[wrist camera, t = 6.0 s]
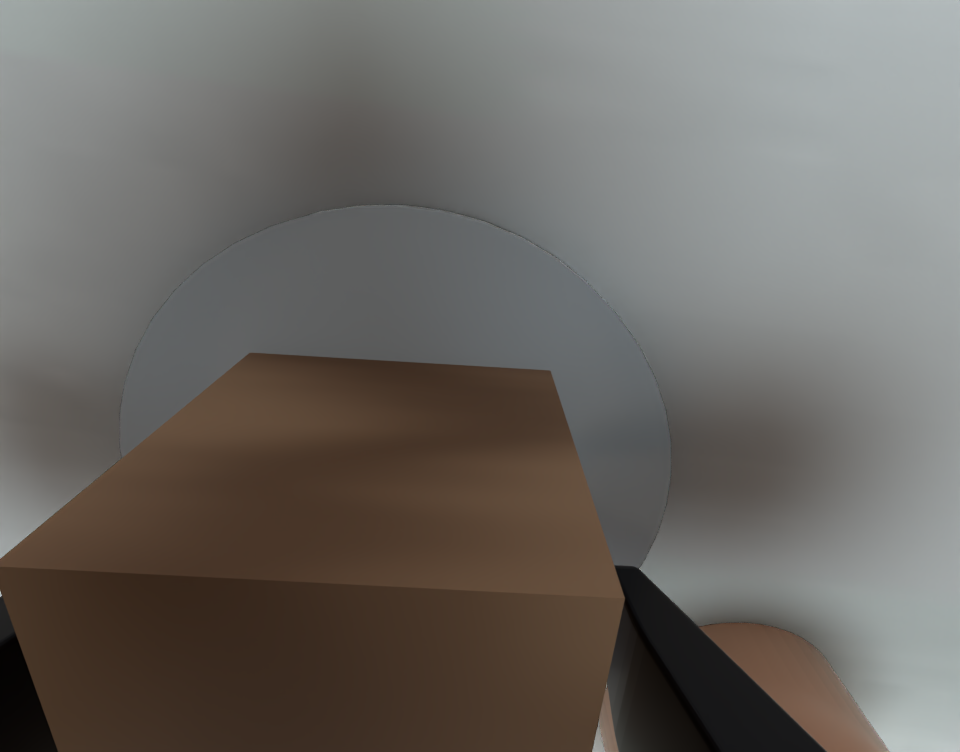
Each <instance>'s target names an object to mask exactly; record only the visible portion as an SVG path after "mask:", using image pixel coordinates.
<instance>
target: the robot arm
mask: <svg viewBox="0 0 960 752" xmlns="http://www.w3.org/2000/svg"><path fill="white" fill-rule="evenodd" d="M614 567H615V570H616V573H617V576H618V579H619V582H620V585H621V588H622V591H623V594H624V597H625V600H624V605H623V610H622V614H621V619H620V624H619V628H618V633H617V637H616V642H615V647H614V651H613V656H612V661H611V665H610V670H609V675H608V679H607V686H608V693H609V700H610V707H611V714H612V720H613V727H614V733H615V738H616V742H617V747H618V751H619V752H827V751H826V750H825V749H824V748H823V747H822V746H821V745H820V744H819V743H818V742H817V741H816V740H815V739H814V738H813V737H812V736H811V735H810V734H809V733H808V732H807V731H805V730H804V729H803V728H802V727H801V726H800V725H799V724H798V723H797V722H796V721H795V720H794V719H793V718H792V717H791V716H790V715H789V714H788V713H787V712H786V711H785V710H784V709H783V708H782V707H781V706H780V705H779V704H778V703H777V702H776V701H775V700H774V699H772V698H771V697H770V696H769V695H768V694H767V693H766V692H765V691H764V690H763V689H762V688H761V687H760V686H759V685H758V684H757V683H756V682H755V681H754V680H753V679H752V678H751V677H750V676H749V675H748V674H747V673H746V672H745V671H744V670H743V669H742V668H741V667H740V666H738V665H737V664H736V663H735V662H734V661H733V660H732V659H731V658H730V657H729V656H728V655H727V654H726V653H725V652H724V651H723V650H722V649H721V648H720V647H719V646H718V645H717V644H716V643H715V642H714V641H713V640H712V639H711V638H710V637H709V636H708V635H707V634H705V633H704V632H703V631H702V630H701V629H700V628H699V627H698V626H697V625H696V624H695V623H694V622H693V621H692V620H691V619H690V618H689V617H688V616H687V615H686V614H685V613H684V612H683V611H682V610H681V609H680V608H679V607H678V606H677V605H676V604H675V603H674V602H672V601H671V600H670V599H669V598H668V597H667V596H666V595H665V594H664V593H663V592H662V591H661V590H660V589H659V588H658V587H657V586H656V585H655V584H654V583H653V582H652V581H651V580H650V579H649V578H648V577H647V576H646V575H645V574H644V573H643V572H642V571H641V570H639V569H638V568H636V567H634V566H623V565H614ZM0 752H58V750H57V747H56V744H55V741H54V739H53V736H52V733H51V730H50V728H49V725H48V722H47V719H46V716H45V714H44V711H43V708H42V705H41V702H40V700H39V697H38V694H37V691H36V689H35V686H34V683H33V680H32V677H31V675H30V672H29V669H28V666H27V663H26V661H25V658H24V655H23V652H22V650H21V647H20V644H19V641H18V638H17V636H16V633H15V630H14V627H13V624H12V622H11V619H10V616H9V613H8V611H7V608H6V605H5V602H4V599H3V597H2V596H1V597H0Z"/></svg>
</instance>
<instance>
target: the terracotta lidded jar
mask: <svg viewBox="0 0 960 752" xmlns="http://www.w3.org/2000/svg"><path fill="white" fill-rule="evenodd" d="M699 628H700V629H701V630H702V631H703V632H704V633H705V634H707V635H708V636H709V637H710V638H711V639H712V640H713V641H714V642H715V643H716V644H717V645H718V646H719V647H720V648H721V649H722V650H723V651H724V652H725V653H726V654H727V655H728V656H729V657H730V658H731V659H732V660H733V661H734V662H735V663H736V664H737V665H738V666H740V667H741V668H742V669H743V670H744V671H745V672H746V673H747V674H748V675H749V676H750V677H751V678H752V679H753V680H754V681H755V682H756V683H757V684H758V685H759V686H760V687H761V688H762V689H763V690H764V691H765V692H766V693H767V694H768V695H769V696H770V697H771V698H772V699H774V700H775V701H776V702H777V703H778V704H779V705H780V706H781V707H782V708H783V709H784V710H785V711H786V712H787V713H788V714H789V715H790V716H791V717H792V718H793V719H794V720H795V721H796V722H797V723H798V724H799V725H800V726H801V727H802V728H803V729H804V730H805V731H807V732H808V733H809V734H810V735H811V736H812V737H813V738H814V739H815V740H816V741H817V742H818V743H819V744H820V745H821V746H822V747H823V748H824V749H825V750H826V751H827V752H890V751H889V750H888V748H887V747H886V745H885V744H884V742H883V741H882V739H881V738H880V737H879V735H878V734H877V732H876V731H875V729H874V728H873V726H872V725H871V724H870V722H869V721H868V719H867V718H866V716H865V715H864V713H863V712H862V710H861V709H860V708H859V706H858V705H857V703H856V702H855V700H854V699H853V697H852V696H851V695H850V693H849V692H848V690H847V689H846V687H845V686H844V684H843V683H842V682H841V680H840V679H839V677H838V676H837V674H836V673H835V671H834V670H833V668H832V667H831V666H830V664H829V663H828V661H827V660H826V659H825V657H824V656H823V655H822V653H821V652H820V651H818V650H817V649H816V648H815V647H814V646H813V645H812V644H810V643H809V642H807V641H806V640H804V639H803V638H801V637H799V636H797V635H795V634H793V633H791V632H788V631H785V630H782V629H779V628H776V627H771V626H767V625H762V624H753V623H720V624H710V625H705V626H700V627H699ZM599 725H600V730H601V735H602V740H603V745H604V750H605V752H619V751H618V747H617V742H616V738H615V733H614V727H613V720H612V714H611V707H610V700H609V693H608V686H607V688H606V690H605V693H604V698H603V702H602V707H601V712H600V716H599Z"/></svg>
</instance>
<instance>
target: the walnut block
mask: <svg viewBox="0 0 960 752" xmlns="http://www.w3.org/2000/svg"><path fill="white" fill-rule="evenodd" d="M0 591H1V594H2V597H3V599H4V602H5V605H6V608H7V611H8V613H9V616H10V619H11V622H12V624H13V627H14V630H15V633H16V636H17V638H18V641H19V644H20V647H21V650H22V652H23V655H24V658H25V661H26V663H27V666H28V669H29V672H30V675H31V677H32V680H33V683H34V686H35V689H36V691H37V694H38V697H39V700H40V702H41V705H42V708H43V711H44V714H45V716H46V719H47V722H48V725H49V728H50V730H51V733H52V736H53V739H54V741H55V744H56V747H57V750H58V752H592V749H593V744H594V740H595V735H596V730H597V726H598V721H599V716H600V712H601V707H602V702H603V698H604V693H605V689H606V684H607V679H608V675H609V670H610V665H611V661H612V656H613V651H614V647H615V642H616V637H617V633H618V628H619V624H620V619H621V614H622V610H623V605H624V600H625V597H624V594H623V591H622V588H621V585H620V582H619V579H618V576H617V573H616V570H615V567H614V564H613V560H612V557H611V554H610V551H609V548H608V545H607V542H606V539H605V536H604V533H603V530H602V527H601V524H600V521H599V518H598V515H597V511H596V508H595V505H594V502H593V499H592V496H591V493H590V490H589V487H588V484H587V481H586V478H585V475H584V472H583V469H582V466H581V463H580V459H579V456H578V453H577V450H576V447H575V444H574V441H573V438H572V435H571V432H570V429H569V426H568V423H567V420H566V417H565V414H564V411H563V407H562V404H561V401H560V398H559V395H558V392H557V389H556V386H555V383H554V380H553V377H552V374H551V371H550V370H535V369H518V368H501V367H484V366H468V365H451V364H434V363H417V362H401V361H384V360H367V359H350V358H333V357H317V356H300V355H283V354H266V353H249V354H247V355H246V356H245V357H244V358H243V359H241V360H240V361H239V362H238V363H237V364H235V365H234V366H233V367H232V368H231V369H229V370H228V371H227V372H226V373H225V374H223V375H222V376H221V377H220V378H218V379H217V380H216V381H215V382H214V383H212V384H211V385H210V386H209V387H208V388H206V389H205V390H204V391H203V392H202V393H200V394H199V395H198V396H197V397H195V398H194V399H193V400H192V401H191V402H189V403H188V404H187V405H186V406H185V407H183V408H182V409H181V410H180V411H179V412H177V413H176V414H175V415H174V416H173V417H171V418H170V419H169V420H168V421H166V422H165V423H164V424H163V425H162V426H160V427H159V428H158V429H157V430H156V431H154V432H153V433H152V434H151V435H150V436H148V437H147V438H146V439H145V440H143V441H142V442H141V443H140V444H139V445H137V446H136V447H135V448H134V449H133V450H131V451H130V452H129V453H128V454H127V455H125V456H124V457H123V458H122V459H121V460H119V461H118V462H117V463H116V464H114V465H113V466H112V467H111V468H110V469H108V470H107V471H106V472H105V473H104V474H102V475H101V476H100V477H99V478H98V479H96V480H95V481H94V482H93V483H91V484H90V485H89V486H88V487H87V488H85V489H84V490H83V491H82V492H81V493H79V494H78V495H77V496H76V497H75V498H73V499H72V500H71V501H70V502H69V503H67V504H66V505H65V506H64V507H62V508H61V509H60V510H59V511H58V512H56V513H55V514H54V515H53V516H52V517H50V518H49V519H48V520H47V521H46V522H44V523H43V524H42V525H41V526H39V527H38V528H37V529H36V530H35V531H33V532H32V533H31V534H30V535H29V536H27V537H26V538H25V539H24V540H23V541H21V542H20V543H19V544H18V545H17V546H15V547H14V548H13V549H12V550H10V551H9V552H8V553H7V554H6V555H4V556H3V557H2V558H1V559H0Z"/></svg>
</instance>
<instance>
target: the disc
mask: <svg viewBox="0 0 960 752" xmlns="http://www.w3.org/2000/svg"><path fill="white" fill-rule="evenodd" d="M249 353H266V354H283V355H300V356H317V357H333V358H350V359H367V360H384V361H401V362H417V363H434V364H451V365H468V366H484V367H501V368H518V369H535V370H550V371H551V374H552V377H553V380H554V383H555V386H556V389H557V392H558V395H559V398H560V401H561V404H562V407H563V411H564V414H565V417H566V420H567V423H568V426H569V429H570V432H571V435H572V438H573V441H574V444H575V447H576V450H577V453H578V456H579V459H580V463H581V466H582V469H583V472H584V475H585V478H586V481H587V484H588V487H589V490H590V493H591V496H592V499H593V502H594V505H595V508H596V511H597V515H598V518H599V521H600V524H601V527H602V530H603V533H604V536H605V539H606V542H607V545H608V548H609V551H610V554H611V557H612V560H613V564H614V565H623V566H634V567H636V568H638V569H639V568H640V566H641V565H642V563H643V562H644V560H645V559H646V556H647V554H648V552H649V550H650V548H651V546H652V544H653V542H654V540H655V537H656V535H657V533H658V530H659V527H660V524H661V521H662V517H663V514H664V511H665V508H666V504H667V498H668V492H669V485H670V478H671V439H670V433H669V427H668V420H667V414H666V409H665V406H664V403H663V400H662V397H661V394H660V391H659V387H658V384H657V381H656V378H655V376H654V374H653V372H652V370H651V368H650V366H649V364H648V362H647V360H646V358H645V356H644V354H643V352H642V350H641V348H640V346H639V345H638V343H637V342H636V341H635V339H634V338H633V336H632V335H631V333H630V332H629V331H628V329H627V328H626V326H625V325H624V323H623V322H622V321H621V319H620V318H619V316H618V315H617V314H616V313H615V312H614V311H613V309H612V308H611V307H610V306H609V305H608V304H607V303H606V302H605V301H604V300H603V299H602V298H601V297H600V296H599V295H598V293H597V292H596V291H595V290H594V289H593V288H592V287H591V286H590V285H589V284H588V283H587V282H586V281H585V280H584V279H583V278H581V277H580V276H579V275H578V274H576V273H575V272H574V271H573V270H571V269H570V268H569V267H568V266H566V265H565V264H564V263H562V262H561V261H560V260H559V259H557V258H556V257H555V256H553V255H551V254H550V253H548V252H546V251H545V250H543V249H541V248H540V247H538V246H536V245H534V244H533V243H531V242H529V241H528V240H526V239H524V238H523V237H521V236H518V235H516V234H514V233H511V232H509V231H507V230H504V229H502V228H499V227H497V226H495V225H492V224H490V223H488V222H485V221H482V220H478V219H475V218H471V217H467V216H464V215H460V214H456V213H453V212H449V211H445V210H439V209H431V208H423V207H416V206H408V205H359V206H352V207H345V208H339V209H332V210H325V211H320V212H316V213H313V214H310V215H306V216H303V217H299V218H296V219H293V220H289V221H286V222H283V223H279V224H276V225H273V226H270V227H268V228H266V229H264V230H262V231H260V232H257V233H255V234H253V235H251V236H249V237H247V238H244V239H242V240H240V241H238V242H236V243H234V244H233V245H231V246H230V247H228V248H227V249H225V250H224V251H222V252H221V253H219V254H218V255H216V256H215V257H213V258H212V259H210V260H209V261H207V262H206V263H204V264H203V265H201V266H200V267H199V268H198V269H197V270H196V271H195V272H194V273H193V274H192V275H191V276H189V277H188V278H187V279H186V280H185V281H184V282H183V283H182V284H181V285H180V286H179V287H178V288H176V289H175V290H174V292H173V293H172V294H171V295H170V297H169V298H168V299H167V301H166V302H165V303H164V304H163V306H162V307H161V308H160V310H159V311H158V312H157V313H156V315H155V316H154V317H153V319H152V320H151V322H150V324H149V326H148V328H147V330H146V331H145V333H144V335H143V337H142V339H141V341H140V343H139V344H138V346H137V348H136V350H135V353H134V356H133V359H132V362H131V365H130V368H129V371H128V374H127V377H126V380H125V384H124V390H123V396H122V402H121V408H120V438H119V445H120V452H121V459H122V458H123V457H124V456H125V455H127V454H128V453H129V452H130V451H131V450H133V449H134V448H135V447H136V446H137V445H139V444H140V443H141V442H142V441H143V440H145V439H146V438H147V437H148V436H150V435H151V434H152V433H153V432H154V431H156V430H157V429H158V428H159V427H160V426H162V425H163V424H164V423H165V422H166V421H168V420H169V419H170V418H171V417H173V416H174V415H175V414H176V413H177V412H179V411H180V410H181V409H182V408H183V407H185V406H186V405H187V404H188V403H189V402H191V401H192V400H193V399H194V398H195V397H197V396H198V395H199V394H200V393H202V392H203V391H204V390H205V389H206V388H208V387H209V386H210V385H211V384H212V383H214V382H215V381H216V380H217V379H218V378H220V377H221V376H222V375H223V374H225V373H226V372H227V371H228V370H229V369H231V368H232V367H233V366H234V365H235V364H237V363H238V362H239V361H240V360H241V359H243V358H244V357H245V356H246V355H247V354H249Z"/></svg>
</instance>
